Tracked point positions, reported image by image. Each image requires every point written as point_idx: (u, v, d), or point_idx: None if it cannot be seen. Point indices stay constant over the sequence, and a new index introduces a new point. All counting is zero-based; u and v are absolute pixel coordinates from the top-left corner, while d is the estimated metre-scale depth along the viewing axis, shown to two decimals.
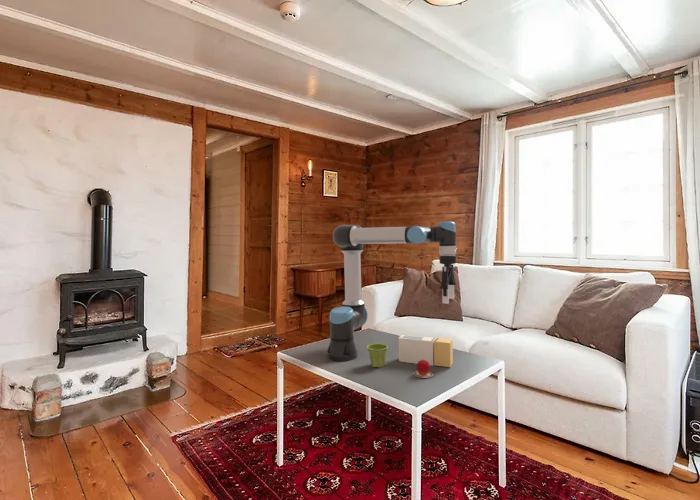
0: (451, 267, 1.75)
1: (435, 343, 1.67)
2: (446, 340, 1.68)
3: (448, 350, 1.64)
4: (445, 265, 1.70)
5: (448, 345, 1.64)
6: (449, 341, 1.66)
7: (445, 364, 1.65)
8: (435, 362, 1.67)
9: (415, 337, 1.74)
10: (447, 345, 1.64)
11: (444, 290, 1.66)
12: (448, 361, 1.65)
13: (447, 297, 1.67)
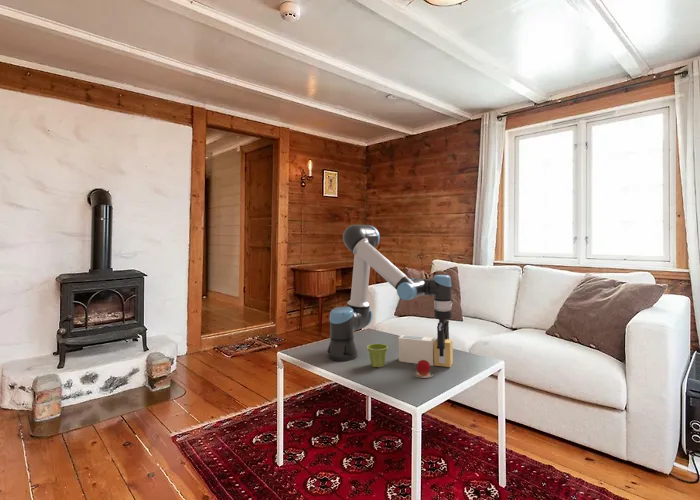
0: (446, 321, 1.70)
1: (435, 343, 1.67)
2: (446, 340, 1.68)
3: (448, 350, 1.64)
4: (440, 321, 1.65)
5: (448, 345, 1.64)
6: (449, 341, 1.66)
7: (445, 364, 1.65)
8: (435, 362, 1.67)
9: (415, 337, 1.74)
10: (447, 345, 1.64)
11: (440, 350, 1.64)
12: (448, 361, 1.65)
13: (443, 357, 1.65)
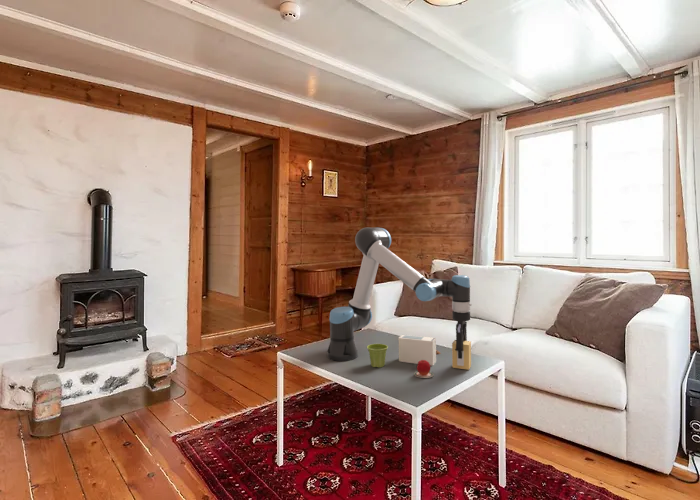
0: (464, 322, 1.66)
1: (453, 345, 1.63)
2: (465, 342, 1.65)
3: (467, 352, 1.61)
4: (458, 322, 1.61)
5: (467, 347, 1.61)
6: (467, 343, 1.62)
7: (463, 366, 1.62)
8: (453, 364, 1.64)
9: (415, 337, 1.74)
10: (466, 347, 1.61)
11: (459, 352, 1.60)
12: (467, 363, 1.61)
13: (462, 359, 1.61)
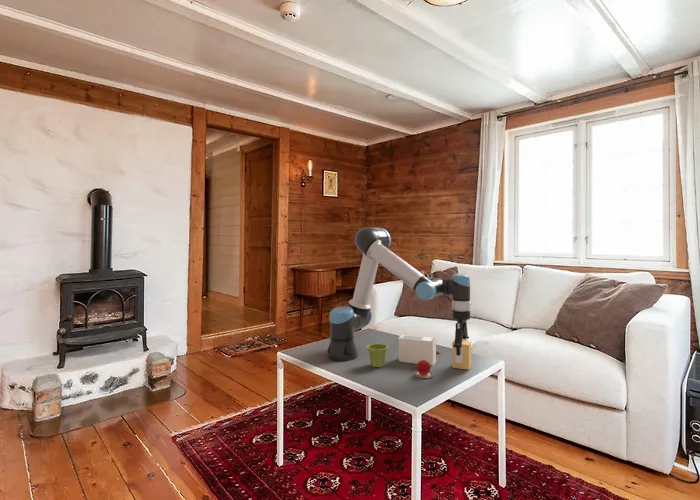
0: (464, 322, 1.66)
1: None
2: (465, 342, 1.65)
3: (467, 352, 1.61)
4: (458, 321, 1.61)
5: (467, 347, 1.61)
6: (468, 343, 1.62)
7: (463, 366, 1.62)
8: (453, 364, 1.64)
9: (415, 337, 1.74)
10: (466, 347, 1.61)
11: (457, 349, 1.57)
12: (467, 363, 1.61)
13: (460, 356, 1.58)
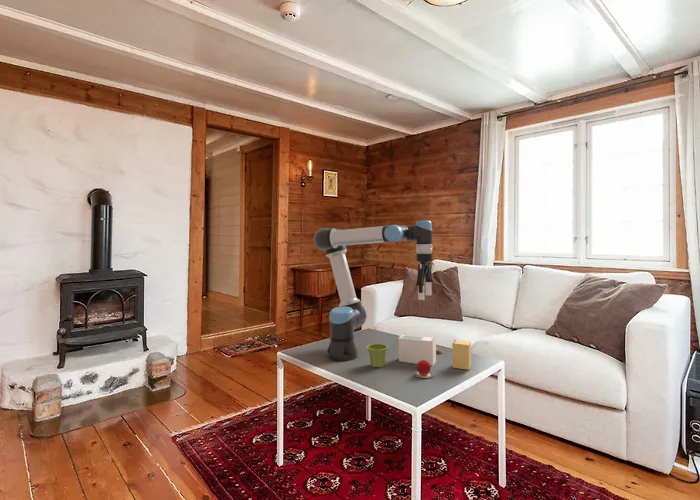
0: None
1: (453, 345, 1.63)
2: (465, 342, 1.65)
3: (467, 352, 1.61)
4: (421, 263, 1.75)
5: (467, 347, 1.61)
6: (468, 343, 1.62)
7: (463, 366, 1.62)
8: (453, 364, 1.64)
9: (415, 337, 1.74)
10: (466, 347, 1.61)
11: (420, 287, 1.71)
12: (467, 363, 1.61)
13: (423, 293, 1.72)
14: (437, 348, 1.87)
